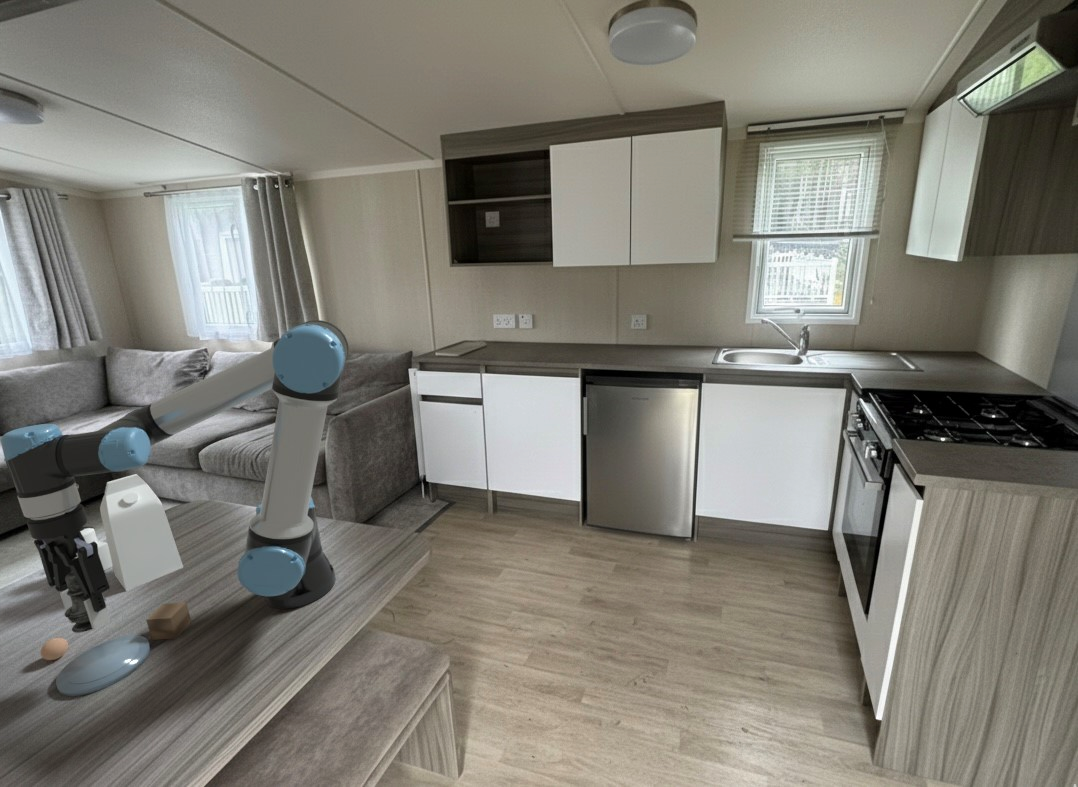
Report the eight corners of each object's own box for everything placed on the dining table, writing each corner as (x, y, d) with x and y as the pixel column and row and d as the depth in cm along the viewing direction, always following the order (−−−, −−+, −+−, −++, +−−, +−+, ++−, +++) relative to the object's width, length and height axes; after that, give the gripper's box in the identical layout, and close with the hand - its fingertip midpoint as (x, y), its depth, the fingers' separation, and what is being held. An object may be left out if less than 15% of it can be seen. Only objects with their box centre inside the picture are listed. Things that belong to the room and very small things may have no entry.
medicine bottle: (66, 577, 130) (53, 535, 127) (98, 561, 137) (86, 521, 134) (83, 582, 128) (69, 539, 125) (114, 566, 134) (102, 525, 131)
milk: (169, 553, 139) (145, 465, 132) (183, 567, 132) (158, 475, 125) (114, 575, 130) (86, 482, 123) (126, 591, 123) (96, 493, 116)
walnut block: (191, 622, 110) (186, 602, 109) (176, 638, 105) (170, 618, 104) (168, 623, 110) (162, 603, 109) (152, 640, 105) (146, 619, 104)
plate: (166, 647, 103) (165, 641, 102) (89, 703, 90) (87, 697, 90) (120, 635, 107) (118, 629, 107) (39, 686, 95) (37, 680, 94)
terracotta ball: (75, 651, 103) (69, 635, 102) (51, 666, 100) (45, 649, 98) (62, 648, 104) (57, 631, 103) (39, 662, 101) (33, 645, 100)
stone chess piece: (86, 635, 93) (67, 578, 90) (61, 632, 94) (42, 575, 91) (118, 613, 98) (101, 559, 95) (94, 611, 100) (76, 557, 97)
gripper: (112, 506, 91) (145, 616, 96) (46, 496, 97) (80, 600, 103) (63, 526, 84) (101, 644, 90) (-5, 514, 90) (35, 625, 96)
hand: (90, 620), depth 96 cm, fingers closed on stone chess piece, 6 cm apart
